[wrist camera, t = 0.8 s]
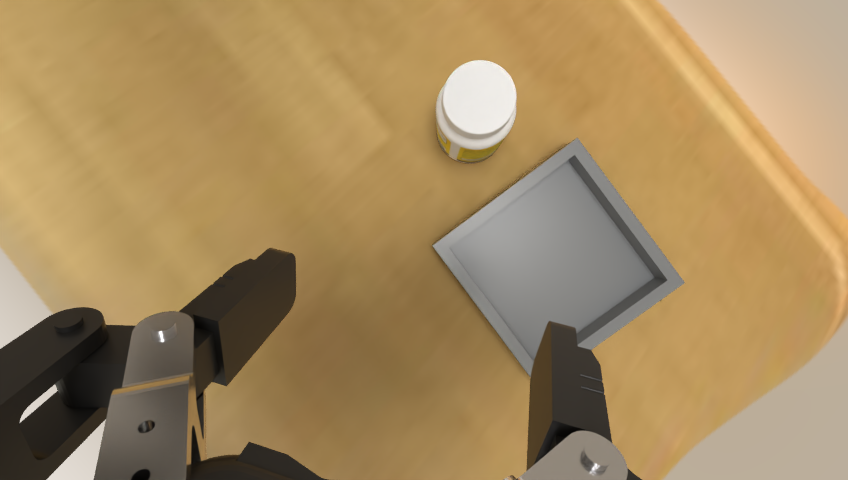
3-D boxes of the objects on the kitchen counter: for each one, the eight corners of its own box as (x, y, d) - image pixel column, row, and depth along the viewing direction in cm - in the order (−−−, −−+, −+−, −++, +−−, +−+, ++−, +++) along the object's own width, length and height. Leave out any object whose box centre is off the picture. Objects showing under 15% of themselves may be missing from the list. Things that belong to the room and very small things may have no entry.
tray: (432, 244, 32) (432, 245, 30) (566, 144, 31) (577, 137, 29) (530, 375, 32) (538, 387, 30) (665, 278, 32) (684, 282, 29)
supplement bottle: (514, 121, 32) (542, 84, 23) (478, 176, 32) (493, 159, 23) (458, 85, 32) (466, 35, 23) (423, 141, 32) (418, 110, 23)
